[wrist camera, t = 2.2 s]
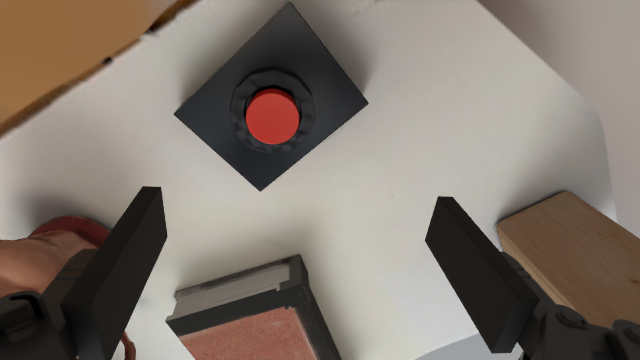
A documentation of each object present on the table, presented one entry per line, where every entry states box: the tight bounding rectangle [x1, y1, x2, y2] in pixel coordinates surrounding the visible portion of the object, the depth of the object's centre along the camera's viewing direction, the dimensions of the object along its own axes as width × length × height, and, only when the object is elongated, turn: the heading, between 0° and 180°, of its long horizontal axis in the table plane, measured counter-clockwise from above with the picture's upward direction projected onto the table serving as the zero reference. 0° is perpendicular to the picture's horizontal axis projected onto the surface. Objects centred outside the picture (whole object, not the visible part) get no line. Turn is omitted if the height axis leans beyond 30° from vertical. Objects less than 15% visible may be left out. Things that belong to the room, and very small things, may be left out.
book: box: [165, 254, 342, 360], centre depth 48 cm, size 26×18×5 cm
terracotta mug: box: [0, 216, 136, 360], centre depth 34 cm, size 20×12×14 cm, turn 34°
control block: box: [174, 1, 369, 192], centre depth 32 cm, size 14×11×4 cm
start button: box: [246, 88, 299, 144], centre depth 30 cm, size 4×4×2 cm
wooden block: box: [496, 192, 640, 328], centre depth 37 cm, size 10×10×20 cm
